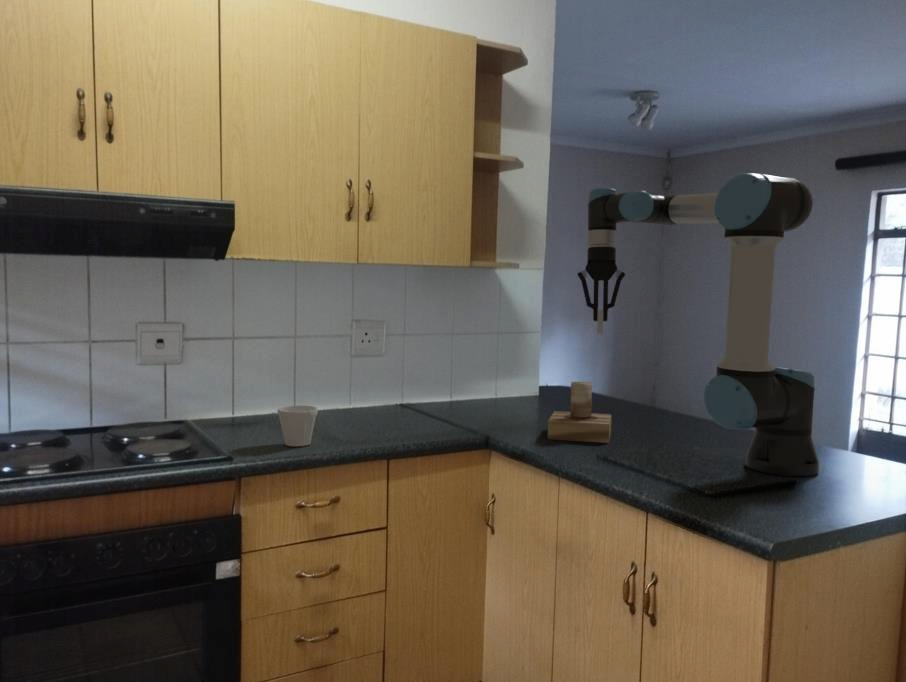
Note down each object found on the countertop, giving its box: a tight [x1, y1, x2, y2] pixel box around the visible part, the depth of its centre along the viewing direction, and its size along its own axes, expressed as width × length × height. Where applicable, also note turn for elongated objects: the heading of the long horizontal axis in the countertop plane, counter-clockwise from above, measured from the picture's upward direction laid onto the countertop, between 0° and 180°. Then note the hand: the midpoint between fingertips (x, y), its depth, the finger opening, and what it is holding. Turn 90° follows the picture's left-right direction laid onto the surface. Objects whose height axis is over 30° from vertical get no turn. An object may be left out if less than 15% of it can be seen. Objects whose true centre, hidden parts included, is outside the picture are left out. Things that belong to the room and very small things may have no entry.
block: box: [547, 410, 612, 444], centre depth 195 cm, size 15×16×5 cm
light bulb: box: [570, 381, 593, 419], centre depth 195 cm, size 6×6×14 cm
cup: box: [277, 405, 319, 448], centre depth 180 cm, size 10×10×9 cm
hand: (600, 333), depth 195 cm, fingers closed
